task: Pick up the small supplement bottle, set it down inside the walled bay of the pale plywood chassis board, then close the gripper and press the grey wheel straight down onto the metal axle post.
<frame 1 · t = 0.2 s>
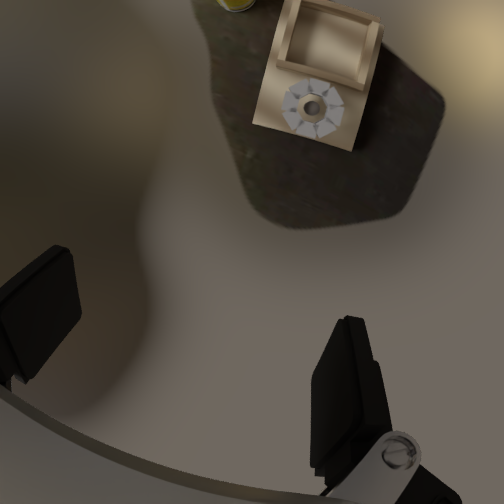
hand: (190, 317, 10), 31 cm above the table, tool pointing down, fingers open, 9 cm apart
chassis: (319, 71, 31), on the table
wheel: (312, 108, 28), point 6 cm above the table, slide at 0.0 cm
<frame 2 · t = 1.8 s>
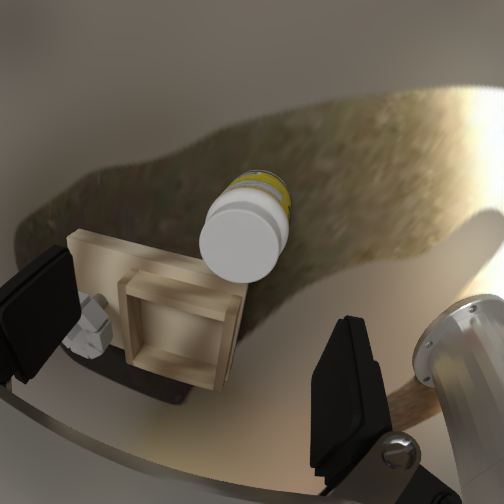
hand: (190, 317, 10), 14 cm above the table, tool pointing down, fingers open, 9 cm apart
supplement bottle: (259, 199, 22), on the table
chassis: (154, 303, 28), on the table
wheel: (79, 324, 23), point 6 cm above the table, slide at 0.0 cm
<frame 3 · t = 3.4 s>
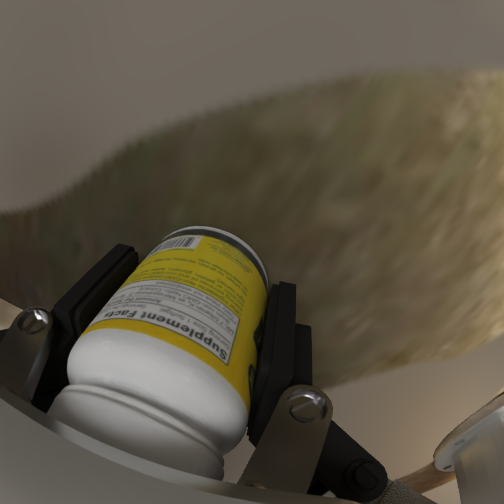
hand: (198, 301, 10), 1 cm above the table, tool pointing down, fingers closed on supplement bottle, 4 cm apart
supplement bottle: (209, 277, 12), on the table, touching gripper
chassis: (88, 390, 17), on the table
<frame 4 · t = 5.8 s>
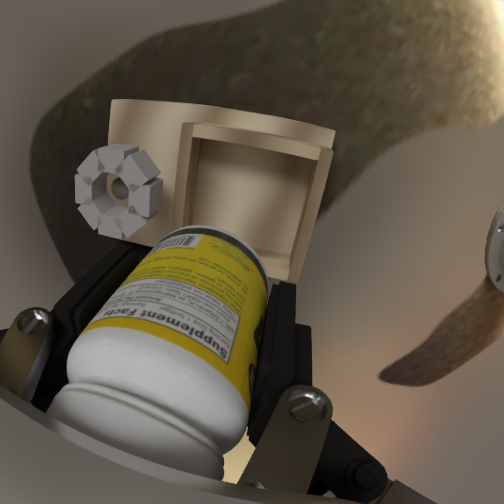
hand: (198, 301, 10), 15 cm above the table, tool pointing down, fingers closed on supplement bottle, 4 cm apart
supplement bottle: (210, 276, 12), point 13 cm above the table, touching gripper
chassis: (209, 180, 24), on the table
wheel: (117, 190, 19), point 6 cm above the table, slide at 0.0 cm
when the fingers open (5 cm above the table, at t = 8.0 s): supplement bottle drops 1 cm, resting on chassis.
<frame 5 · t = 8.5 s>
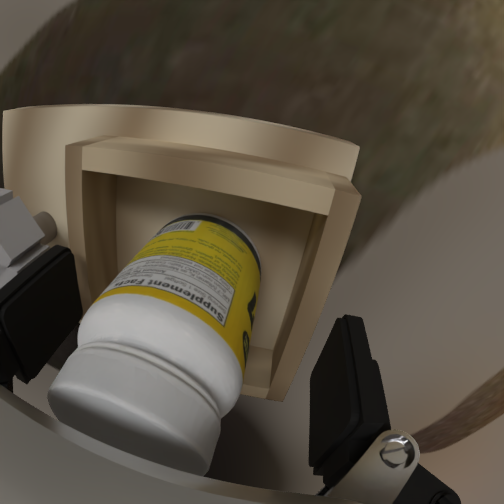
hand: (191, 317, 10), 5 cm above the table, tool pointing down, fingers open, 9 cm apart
supplement bottle: (207, 261, 13), point 2 cm above the table, touching chassis
chassis: (144, 228, 15), on the table
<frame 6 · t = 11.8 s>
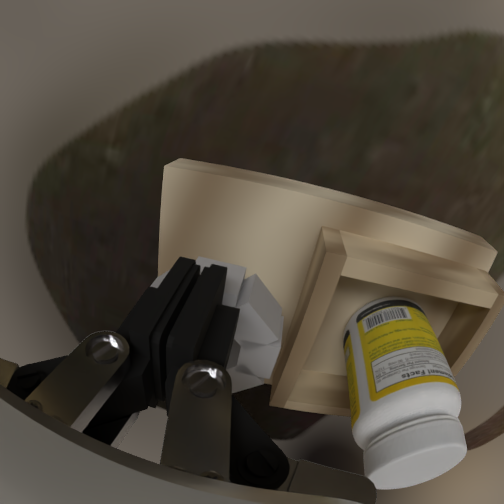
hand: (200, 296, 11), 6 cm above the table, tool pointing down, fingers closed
supplement bottle: (384, 327, 15), point 2 cm above the table, touching chassis
chassis: (317, 295, 17), on the table
wheel: (208, 332, 13), point 5 cm above the table, slide at 1.3 cm, touching gripper
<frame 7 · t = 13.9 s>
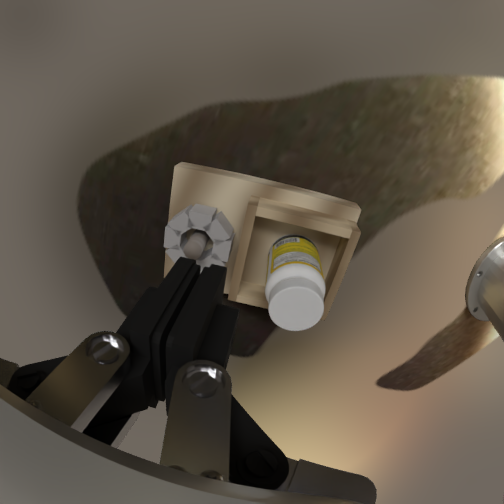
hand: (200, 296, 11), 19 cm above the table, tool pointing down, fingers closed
supplement bottle: (293, 254, 29), point 2 cm above the table, touching chassis
chassis: (256, 237, 30), on the table
wheel: (199, 239, 27), point 3 cm above the table, slide at 2.8 cm
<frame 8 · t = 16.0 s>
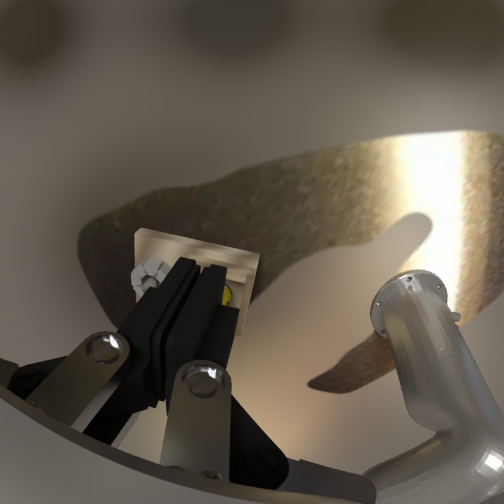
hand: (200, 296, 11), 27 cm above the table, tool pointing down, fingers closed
supplement bottle: (216, 290, 41), point 2 cm above the table, touching chassis
chassis: (194, 277, 43), on the table
wheel: (153, 280, 41), point 3 cm above the table, slide at 2.8 cm
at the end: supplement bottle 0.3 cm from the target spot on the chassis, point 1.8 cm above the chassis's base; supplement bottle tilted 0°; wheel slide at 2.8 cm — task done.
